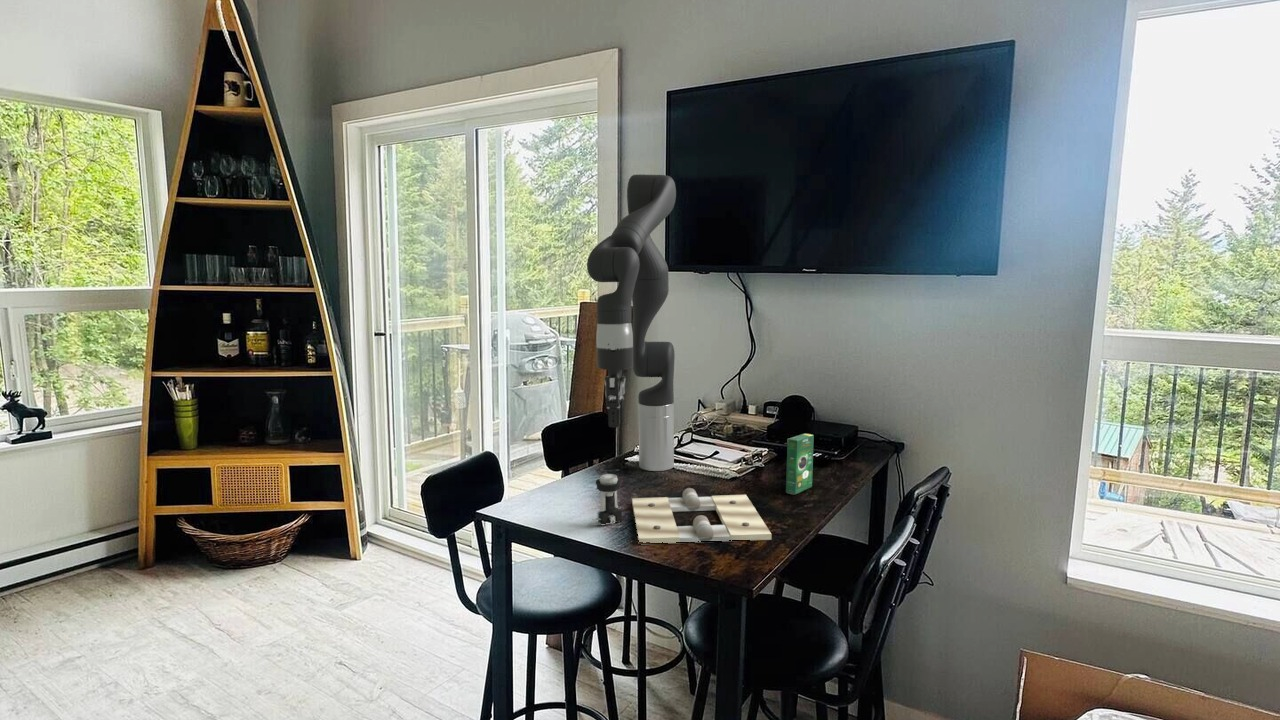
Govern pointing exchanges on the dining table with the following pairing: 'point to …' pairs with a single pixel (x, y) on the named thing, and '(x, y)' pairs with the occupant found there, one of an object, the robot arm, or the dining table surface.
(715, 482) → the dining table surface
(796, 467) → the coffee box
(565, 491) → the dining table surface
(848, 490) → the dining table surface
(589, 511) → the dining table surface
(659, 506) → the hinge plate
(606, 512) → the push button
